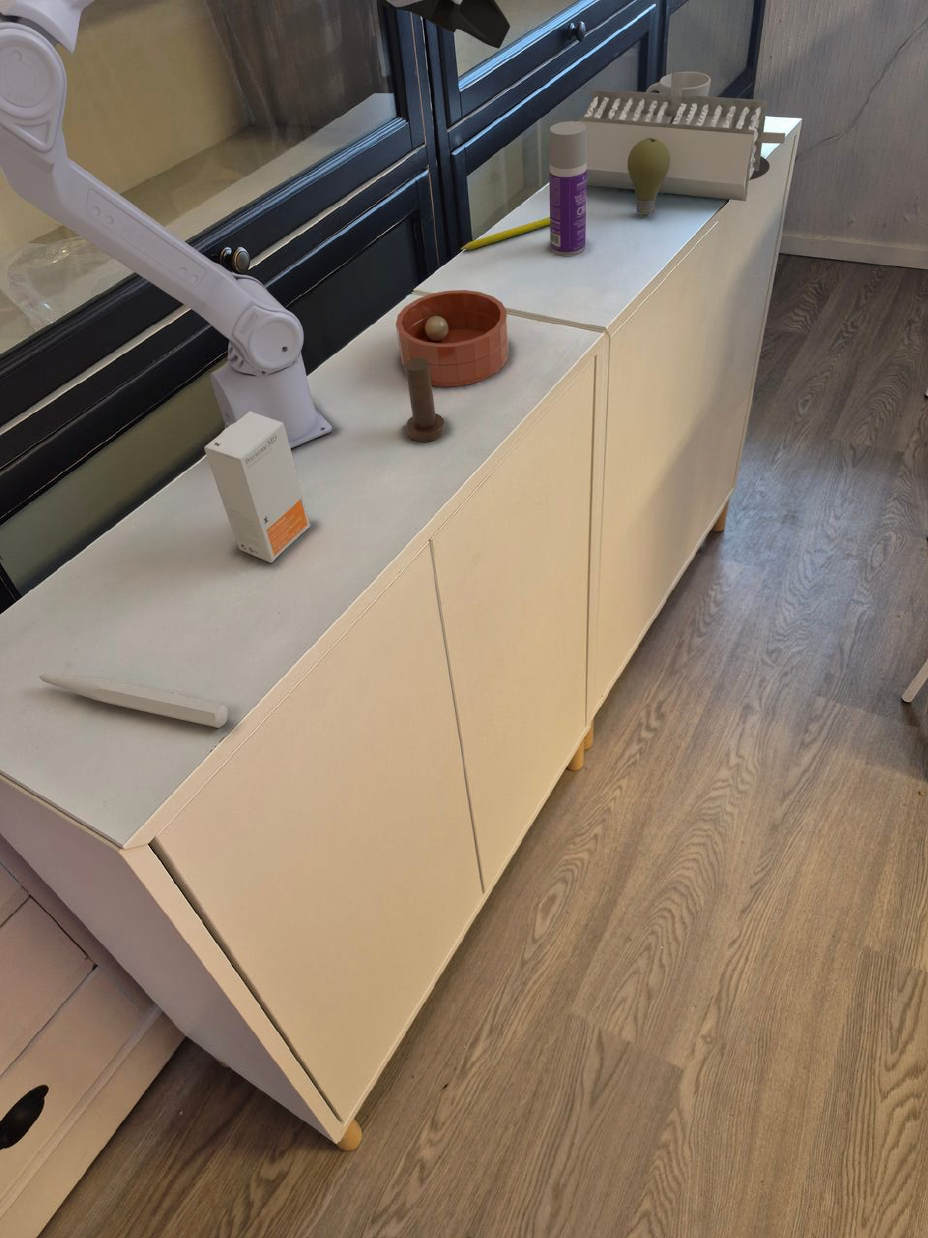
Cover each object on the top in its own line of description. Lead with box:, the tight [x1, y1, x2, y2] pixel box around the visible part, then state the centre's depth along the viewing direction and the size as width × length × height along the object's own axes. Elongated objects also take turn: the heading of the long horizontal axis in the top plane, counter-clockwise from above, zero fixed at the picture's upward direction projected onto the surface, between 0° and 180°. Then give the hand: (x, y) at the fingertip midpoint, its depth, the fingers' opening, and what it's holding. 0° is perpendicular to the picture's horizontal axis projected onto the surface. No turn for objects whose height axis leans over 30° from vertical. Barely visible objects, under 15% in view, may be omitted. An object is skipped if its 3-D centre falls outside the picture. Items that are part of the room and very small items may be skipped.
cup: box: [645, 71, 712, 97], centre depth 139 cm, size 8×10×8 cm
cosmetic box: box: [203, 412, 311, 564], centre depth 81 cm, size 6×4×12 cm
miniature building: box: [575, 72, 787, 202], centre depth 124 cm, size 13×27×10 cm
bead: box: [425, 316, 448, 341], centre depth 105 cm, size 3×3×3 cm
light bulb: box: [628, 138, 670, 218], centre depth 122 cm, size 6×6×10 cm
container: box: [548, 120, 587, 257], centre depth 115 cm, size 5×5×15 cm
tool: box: [38, 673, 229, 729], centre depth 72 cm, size 17×2×2 cm
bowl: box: [395, 289, 510, 388], centre depth 103 cm, size 12×12×5 cm
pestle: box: [405, 358, 446, 443], centre depth 92 cm, size 4×4×8 cm
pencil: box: [460, 216, 550, 251], centre depth 124 cm, size 16×1×1 cm
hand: (480, 28), depth 82 cm, fingers open, 7 cm apart
